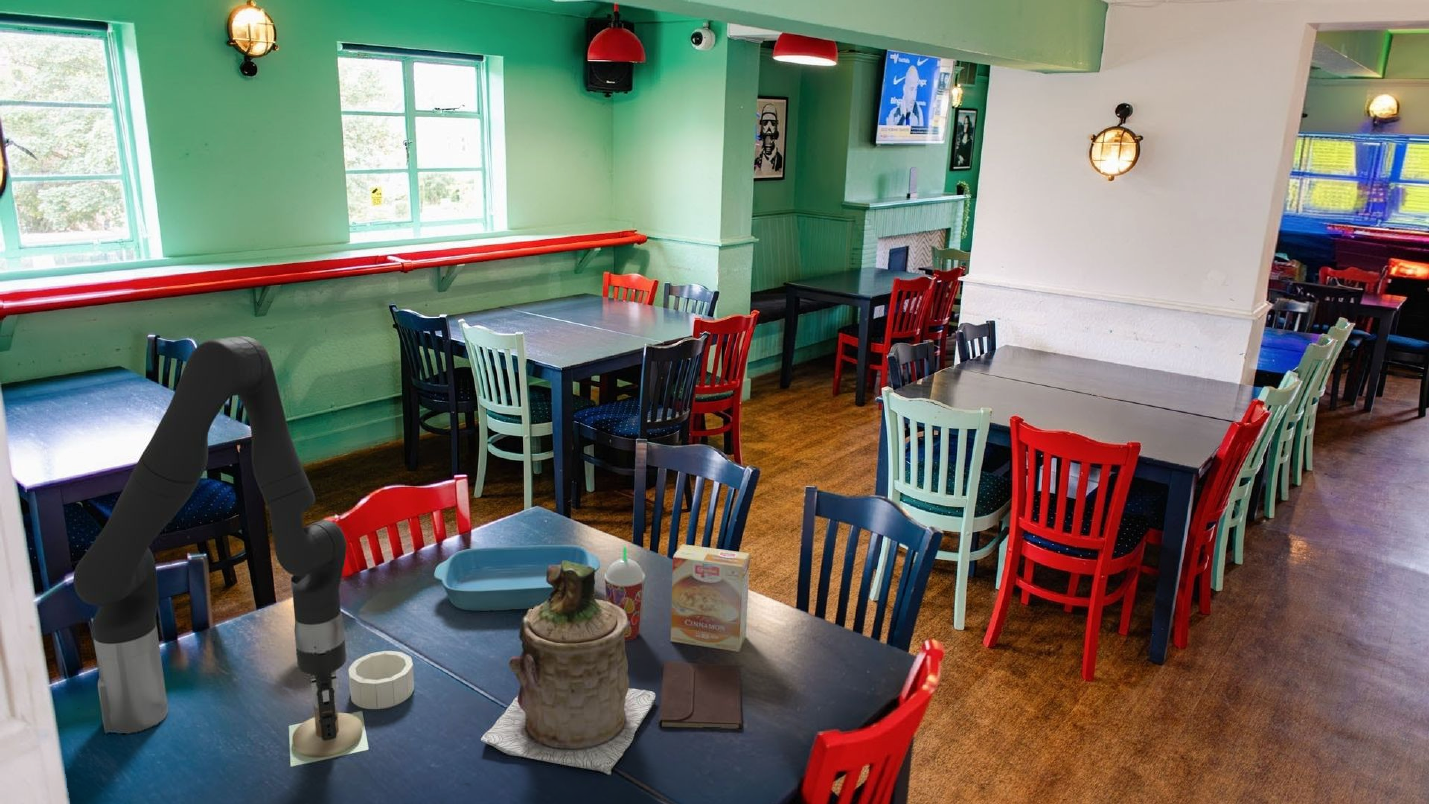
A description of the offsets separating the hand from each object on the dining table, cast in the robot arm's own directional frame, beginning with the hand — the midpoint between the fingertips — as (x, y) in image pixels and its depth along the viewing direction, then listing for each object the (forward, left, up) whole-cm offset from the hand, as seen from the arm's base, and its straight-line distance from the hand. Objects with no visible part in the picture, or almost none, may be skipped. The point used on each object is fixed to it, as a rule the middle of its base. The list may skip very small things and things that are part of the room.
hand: (327, 724), depth 161 cm
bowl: (+10, +11, -3) cm, 15 cm away
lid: (0, 0, -3) cm, 3 cm away
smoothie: (+59, +16, -4) cm, 61 cm away
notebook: (+65, -11, -4) cm, 66 cm away
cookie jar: (+40, -10, -4) cm, 41 cm away
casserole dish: (+43, +43, -4) cm, 61 cm away
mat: (0, 0, -3) cm, 3 cm away
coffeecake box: (+75, +8, -4) cm, 75 cm away
